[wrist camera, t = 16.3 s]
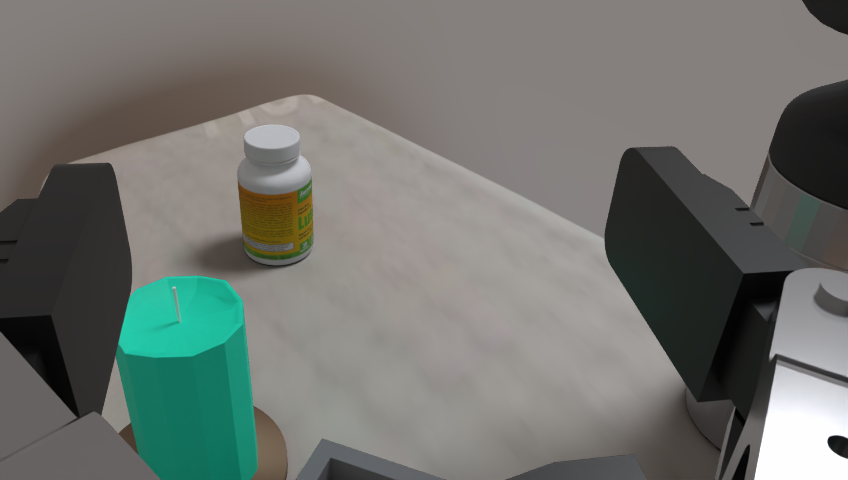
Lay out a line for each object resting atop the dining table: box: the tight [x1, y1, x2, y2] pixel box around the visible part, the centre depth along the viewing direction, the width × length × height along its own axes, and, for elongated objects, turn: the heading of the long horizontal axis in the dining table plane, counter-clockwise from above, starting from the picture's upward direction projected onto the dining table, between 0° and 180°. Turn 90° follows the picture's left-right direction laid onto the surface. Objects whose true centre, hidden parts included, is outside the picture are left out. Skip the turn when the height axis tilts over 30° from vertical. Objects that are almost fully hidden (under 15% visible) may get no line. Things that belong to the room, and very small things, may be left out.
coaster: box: [119, 406, 288, 480], centre depth 41 cm, size 10×10×1 cm
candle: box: [116, 276, 258, 480], centre depth 38 cm, size 6×6×12 cm
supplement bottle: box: [237, 125, 313, 265], centre depth 57 cm, size 5×5×10 cm
